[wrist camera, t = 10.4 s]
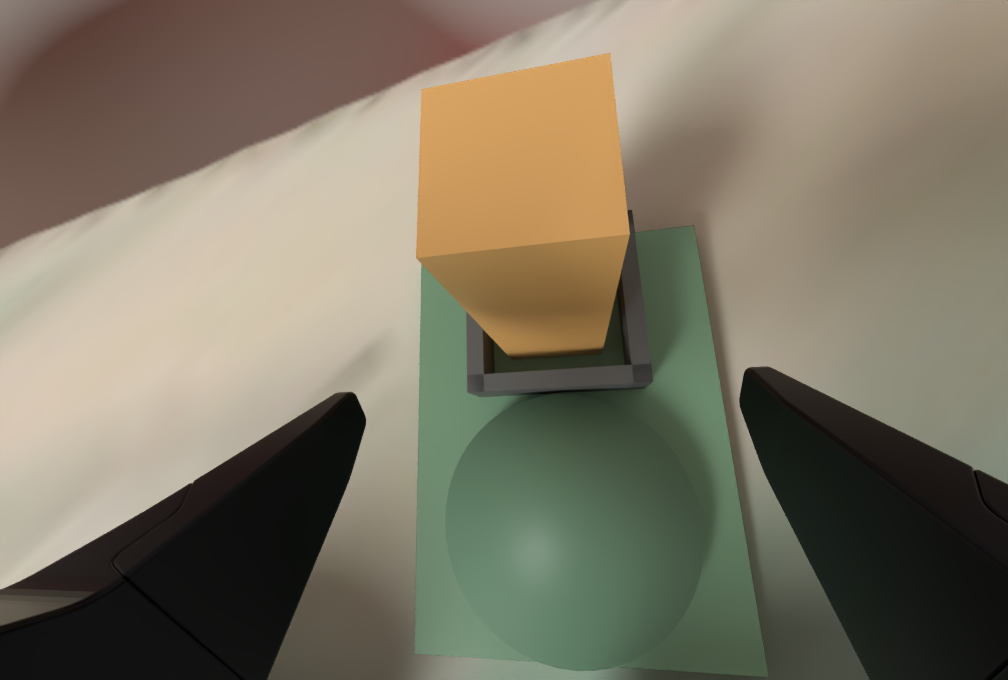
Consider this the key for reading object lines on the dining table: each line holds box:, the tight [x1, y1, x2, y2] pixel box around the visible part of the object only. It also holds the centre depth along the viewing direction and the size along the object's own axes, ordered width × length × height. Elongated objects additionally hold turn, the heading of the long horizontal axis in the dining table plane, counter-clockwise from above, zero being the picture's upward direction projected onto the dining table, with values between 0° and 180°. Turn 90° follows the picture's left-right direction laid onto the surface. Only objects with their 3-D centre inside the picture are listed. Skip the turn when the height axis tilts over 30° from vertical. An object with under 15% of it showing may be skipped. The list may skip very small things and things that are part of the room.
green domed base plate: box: [414, 210, 769, 677], centre depth 19 cm, size 20×15×4 cm
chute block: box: [416, 53, 630, 360], centre depth 15 cm, size 5×5×12 cm
